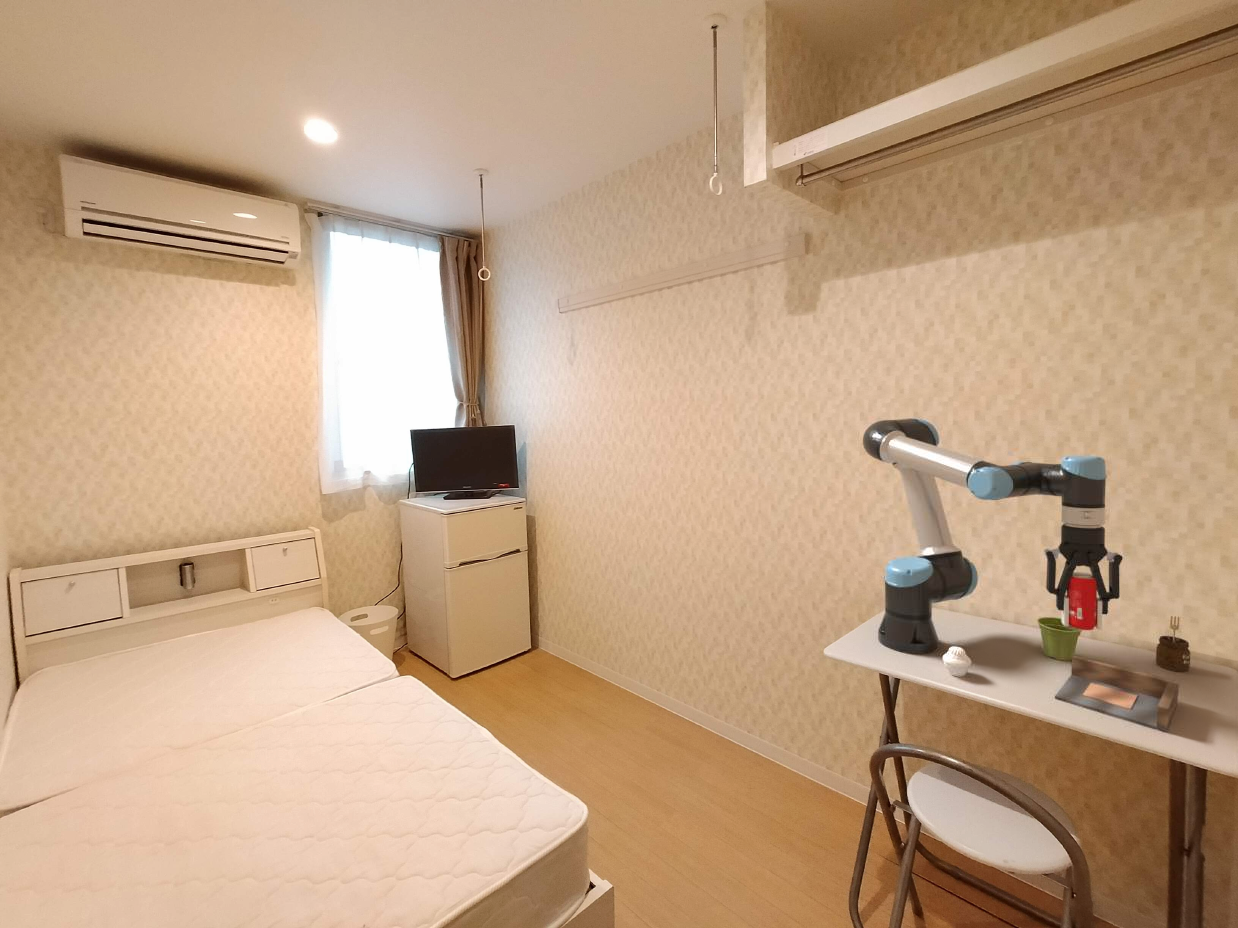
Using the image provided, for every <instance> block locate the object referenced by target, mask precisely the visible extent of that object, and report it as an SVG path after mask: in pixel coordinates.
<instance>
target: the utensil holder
mask: <svg viewBox="0 0 1238 928" xmlns="http://www.w3.org/2000/svg"><path fill="white" fill-rule="evenodd" d="M1166 629H1167V630H1166V631H1168V632H1170V631H1171V630H1173V632H1172V634H1173V635H1161V636H1159V639H1158V642H1159V643H1158V644H1157V645H1156V650H1155V651H1156V652H1155V662H1156V665H1157V666H1159V667H1160V668H1163V669H1165V670H1169V671H1172V672H1178V673H1180V672H1181V673H1186V672H1187V671H1189V669H1190V666H1191V652H1190V649H1189V647H1190V643H1189V641H1187V640H1185V639H1183V638H1181V637H1180V636H1181V635H1182V634H1181V630H1180V617H1179V616H1174V617H1173V615H1170V625H1169V626H1168V627H1167V628H1166ZM1176 631H1177V636H1176Z"/></svg>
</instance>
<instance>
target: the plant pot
mask: <svg viewBox="0 0 1238 928" xmlns="http://www.w3.org/2000/svg"><path fill="white" fill-rule="evenodd" d="M1036 622H1037V625H1038V626H1039V629H1040V635H1041V641H1042V643H1041V644H1042V649H1043V654H1044V655H1046V656H1047V657H1049V658H1054V659H1055V660H1058V661H1065V662H1066V661H1072V657H1073V656H1074V655H1075V653H1076V648H1077V644H1078V639H1079V637H1080V636H1081V632H1083V631H1084V630H1079V629H1075V628H1072V627H1070V626H1064V625H1063V623H1062V617H1061V618H1060V617H1052V616H1051V617H1050V616H1047V617H1046V616H1044V617H1040V618H1038V619H1037V620H1036Z"/></svg>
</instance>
